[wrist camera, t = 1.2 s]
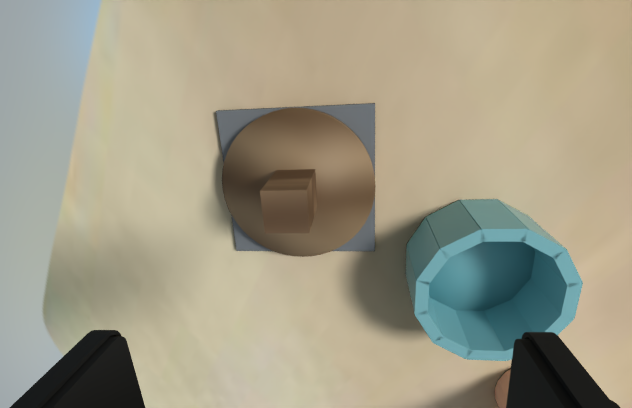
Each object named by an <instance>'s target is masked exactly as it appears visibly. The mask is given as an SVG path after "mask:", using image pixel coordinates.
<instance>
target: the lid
mask: <svg viewBox="0 0 632 408" xmlns="http://www.w3.org/2000/svg"><path fill="white" fill-rule="evenodd" d="M222 184H223V192H224V197H225V200H226V203H227V206H228V208H229V210H230V212H231V214H232V216H233V218H234V219H235V221H236V222H237V224H238V225H239V226H240V227H241V229H242V230H243V231H244V232H245V233H246V234H247V235H248V236H249V237H251V238H252V239H253V240H255V241H256V242H257V243H259V244H261V245H262V246H264V247H266V248H268V249H270V250H272V251H275V252H278V253H281V254H285V255H291V256H302V257H303V256H315V255H320V254H324V253H327V252H330V251H332V250H335V249H337V248H339V247H341V246H342V245H344V244H345V243H347V242H348V241H349V240H351V239H352V238H353V237H354V236H355V235H356V234H357V233H358V232H359V231H360V229H361V228H362V227H363V225H364V224H365V222H366V220H367V218H368V217H369V215H370V212H371V209H372V206H373V202H374V197H375V176H374V170H373V165H372V162H371V159H370V156H369V154H368V152H367V150H366V148H365V146H364V144H363V143H362V142H361V140H360V139H359V137H358V136H357V135H356V134H355V133H354V132H353V131H352V130H351V129H350V128H349V127H348V126H347V125H345V124H344V123H343V122H341V121H340V120H338V119H337V118H335V117H333V116H331V115H329V114H327V113H324V112H321V111H318V110H315V109H308V108H285V109H280V110H276V111H273V112H270V113H268V114H265V115H263V116H261V117H259V118H258V119H256V120H254V121H253V122H251V123H250V124H249V125H248V126H246V127H245V128H244V129H243V130H242V131H241V132H240V133H239V134H238V135H237V137H236V138H235V140H234V141H233V142H232V144H231V146H230V148H229V150H228V152H227V155H226V158H225V161H224V166H223V173H222Z"/></svg>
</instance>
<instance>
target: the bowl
mask: <svg viewBox="0 0 632 408" xmlns="http://www.w3.org/2000/svg"><path fill="white" fill-rule="evenodd" d="M406 278H407V283H408V287H409V292H410V296H411V300H412V305H413V309H414V314H415V316H416V318H417V319H418V321H419V322H420V324H421V325H422V327H423V328H424V330H425V331H426V333H427V334H428V336H429V337H430V339H431V340H432V342H433V343H434V344H436V345H438V346H440V347H442V348H444V349H446V350H448V351H450V352H452V353H454V354H456V355H458V356H460V357H462V358H464V359H469V360H495V361H506V360H507V361H508V360H511V359H512V356H513V348H514V342H515V340H516V339H522V335H523V334H524V333H525V332H553V333H555V334H556V335H558V334H559V333H560V332H561V331H562V330H563V329H564V328H565V327H566V326H567V325H568V324H569V323H570V322H571V321H572V320H573V319H574V318H575V314H576V310H577V305H578V301H579V297H580V293H581V288H582V284H583V283H582V280H581V278H580V276H579V274H578V272H577V270H576V268H575V266H574V264H573V262H572V259H571V257H570V255H569V253H568V251H567V249H566V248H564V247H563V246H562V245H561V244H560V243H559V242H558V241H557V240H555V239H554V238H553V237H552V236H551V235H550V234H549V233H547V232H546V231H545V230H544V229H543V228H542V227H541V226H539V225H538V224H537V223H536V222H535V221H534V220H533V219H532V218H530V217H529V216H528V215H526V214H524V213H522V212H520V211H519V210H517V209H515V208H513V207H511V206H509V205H507V204H505V203H504V202H502V201H500V200H497V199H481V200H460V201H459V200H458V201H456V202H454V203H452V204H450V205H448V206H446V207H444V208H442V209H440V210H438V211H436V212H434V213H432V214H430V215H428V216H427V217H425V219H424V220H423V222H422V223H421V224H420V226H419V227H418V229H417V230H416V232H415V233H414V234H413V236H412V237H411V239H410V240H409V242H408V243H407V246H406Z"/></svg>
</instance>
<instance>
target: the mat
mask: <svg viewBox="0 0 632 408" xmlns="http://www.w3.org/2000/svg"><path fill="white" fill-rule="evenodd" d="M285 108H308V109H315V110H318V111H321V112H324V113H327V114H329V115H331V116H333V117H335V118H337V119H338V120H340V121H341V122H343V123H344V124H345V125H347V126H348V127H349V128H350V129H351V130H352V131H353V132H354V133H355V134H356V135H357V136H358V137H359V139H360V140H361V142H362V143H363V144H364V146H365V148H366V150H367V152H368V154H369V156H370V159H371V162H372V165H373V170H374V176H375V103H368V104H347V105H326V106H304V107H283V108H261V109H240V110H218V111H216V114H217V121H218V127H219V134H220V141H221V148H222V154H223V161H225V158H226V155H227V152H228V150H229V148H230V146H231V144H232V142H233V141H234V140H235V138H236V137H237V135H238V134H239V133H240V132H241V131H242V130H243V129H244V128H245V127H246V126H248V125H249V124H250V123H251V122H253V121H254V120H256V119H258V118H259V117H261V116H263V115H265V114H268V113H270V112H273V111H276V110H280V109H285ZM231 215H232V214H231ZM232 222H233V229H234V235H235V242H236V249H237V251H272V250H270V249H268V248H266V247H264V246H262V245H261V244H259V243H257V242H256V241H255V240H253V239H252V238H251V237H249V236H248V235H247V234H246V233H245V232H244V231H243V230H242V229H241V227H240V226H239V225H238V224H237V222H236V221H235V219H234V218H233V216H232ZM332 251H375V197H374V202H373V206H372V209H371V212H370V215H369V217H368V218H367V220H366V222H365V224H364V225H363V227H362V228H361V229H360V231H359V232H358V233H357V234H356V235H355V236H354V237H353V238H352V239H351V240H349V241H348V242H347V243H345V244H344V245H342V246H341V247H339V248H337V249H335V250H332Z"/></svg>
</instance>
